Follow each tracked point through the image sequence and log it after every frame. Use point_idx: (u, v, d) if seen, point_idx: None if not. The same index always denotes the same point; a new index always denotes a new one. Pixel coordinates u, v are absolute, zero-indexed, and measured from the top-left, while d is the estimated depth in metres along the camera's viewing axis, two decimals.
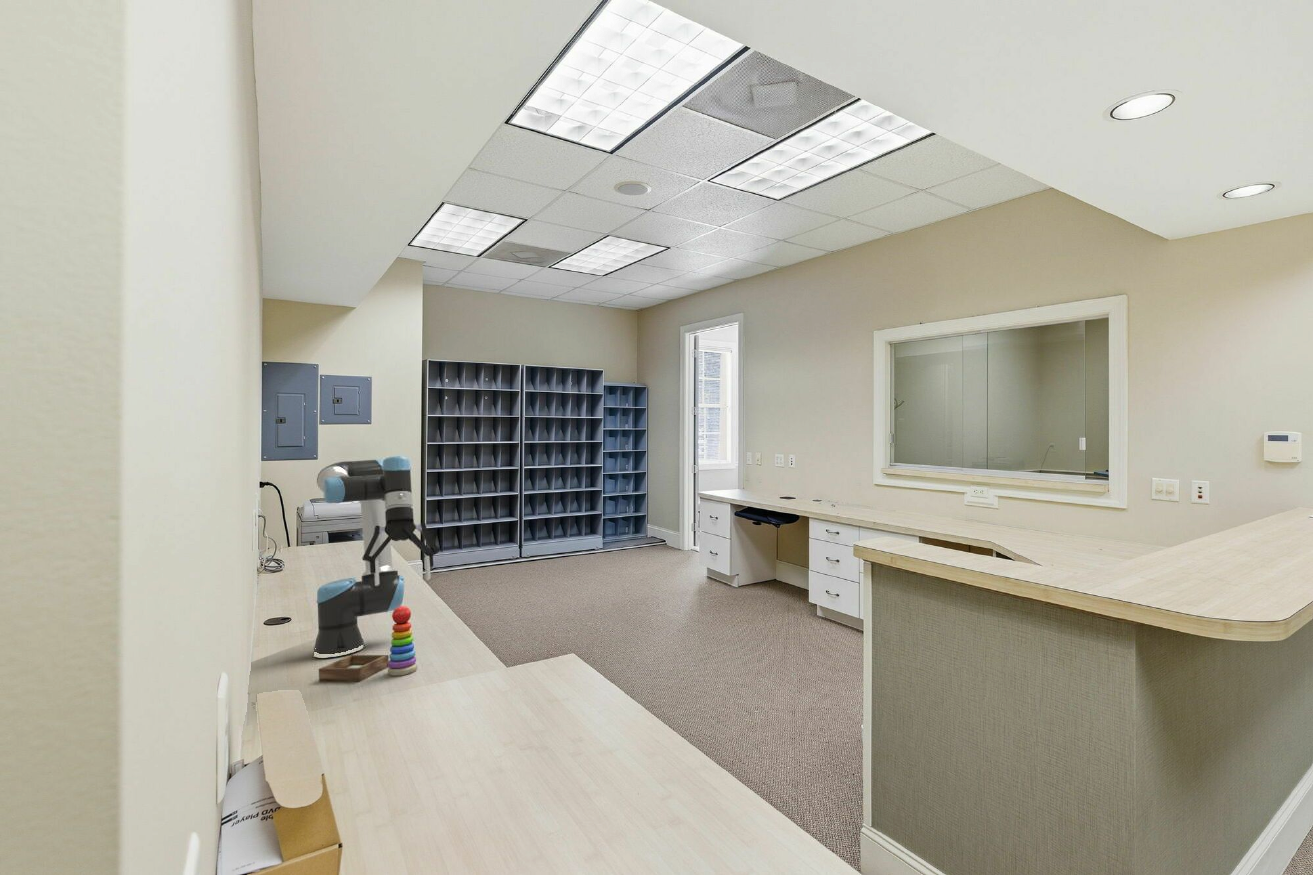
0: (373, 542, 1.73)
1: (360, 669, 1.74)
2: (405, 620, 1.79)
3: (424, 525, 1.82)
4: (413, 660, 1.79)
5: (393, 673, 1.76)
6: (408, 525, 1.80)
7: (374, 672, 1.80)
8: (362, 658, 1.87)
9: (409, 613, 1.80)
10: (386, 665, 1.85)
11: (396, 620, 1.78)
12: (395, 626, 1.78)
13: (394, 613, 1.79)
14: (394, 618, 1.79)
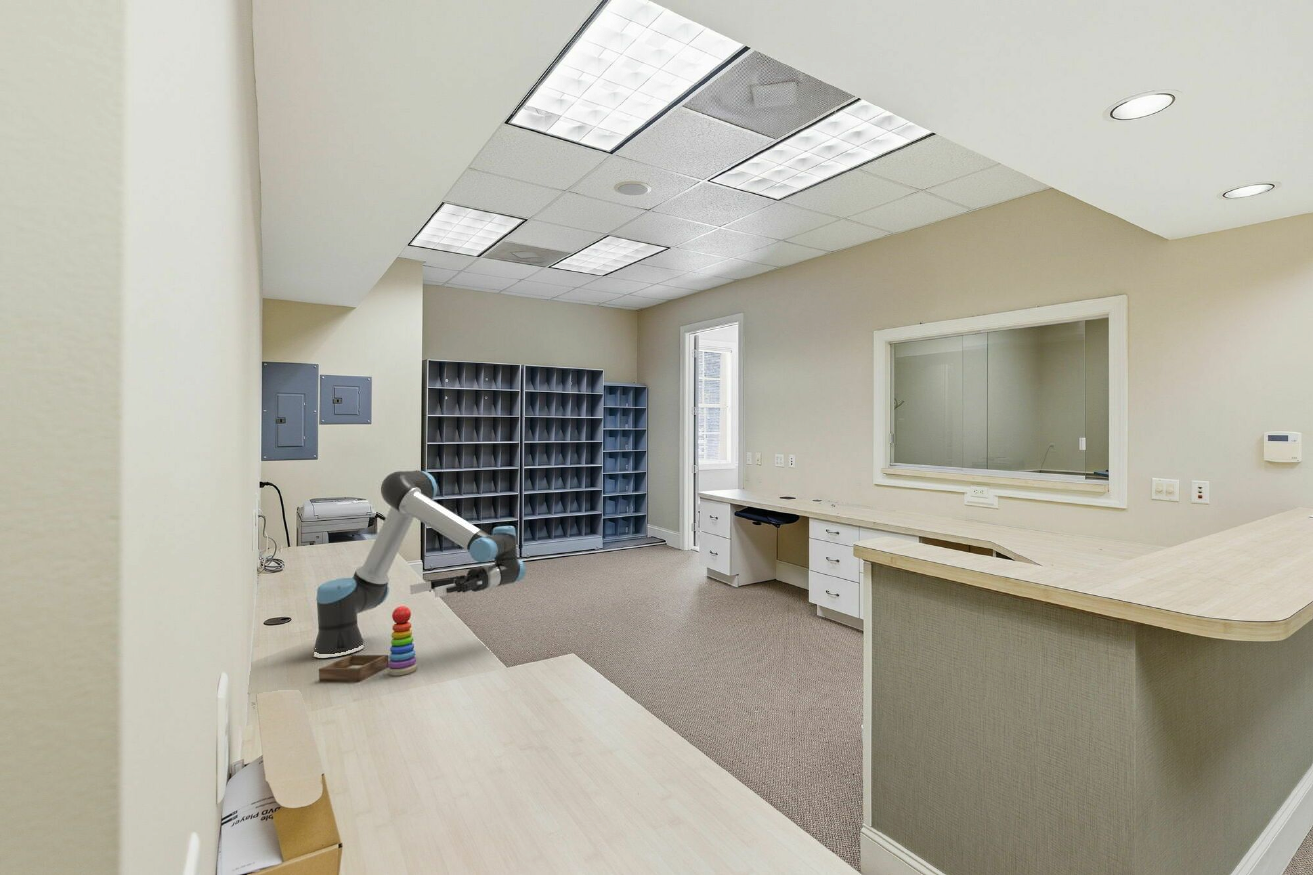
0: None
1: (360, 669, 1.74)
2: (405, 620, 1.79)
3: None
4: (413, 660, 1.79)
5: (393, 673, 1.76)
6: None
7: (374, 672, 1.80)
8: (362, 658, 1.87)
9: (409, 613, 1.80)
10: (386, 665, 1.85)
11: (396, 620, 1.78)
12: (395, 626, 1.78)
13: (394, 613, 1.79)
14: (394, 618, 1.79)
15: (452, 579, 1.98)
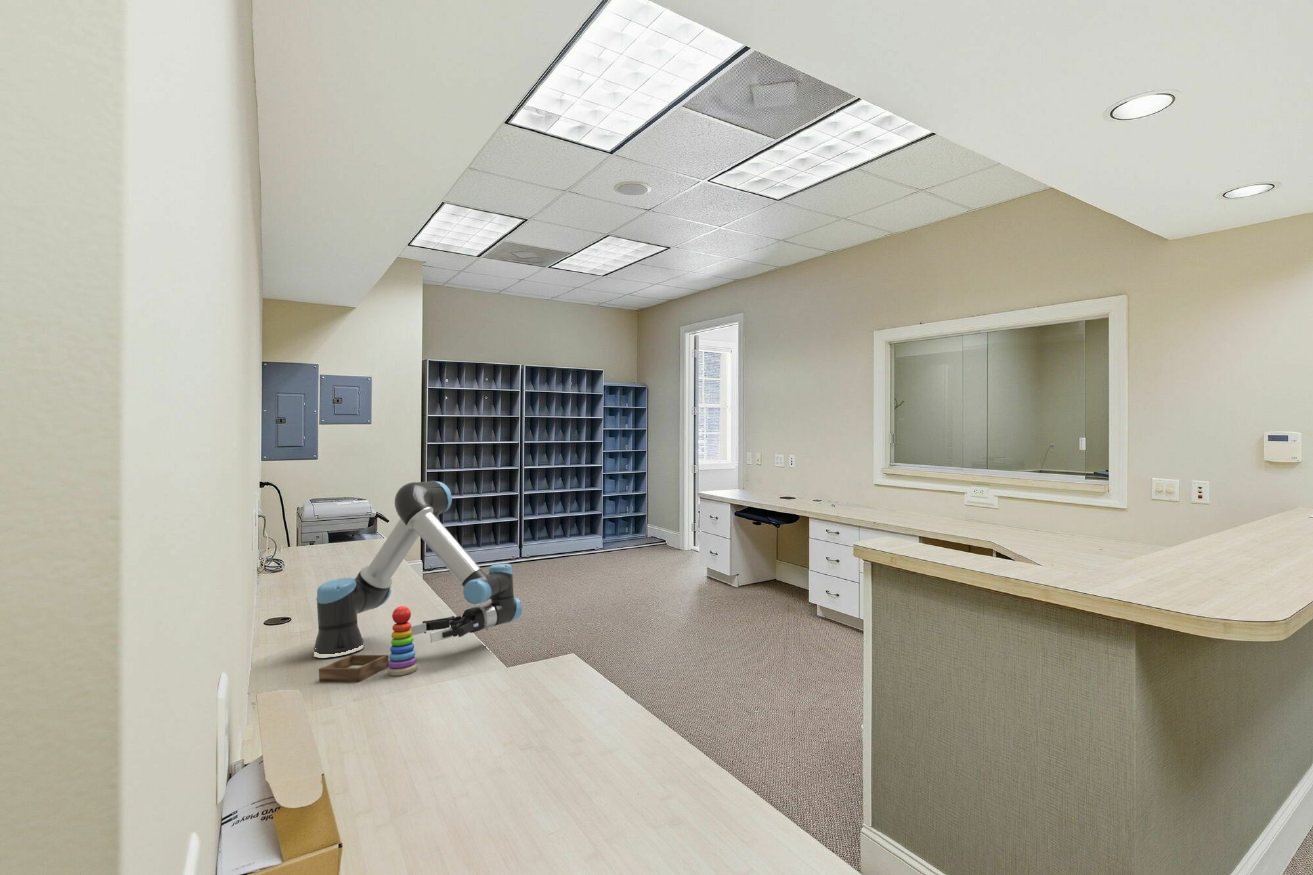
0: None
1: (360, 669, 1.74)
2: (405, 620, 1.79)
3: None
4: (413, 660, 1.79)
5: (393, 673, 1.76)
6: None
7: (374, 672, 1.80)
8: (362, 658, 1.87)
9: (409, 613, 1.80)
10: (386, 665, 1.85)
11: (396, 620, 1.78)
12: (395, 626, 1.78)
13: (394, 613, 1.79)
14: (394, 618, 1.79)
15: (448, 620, 1.95)
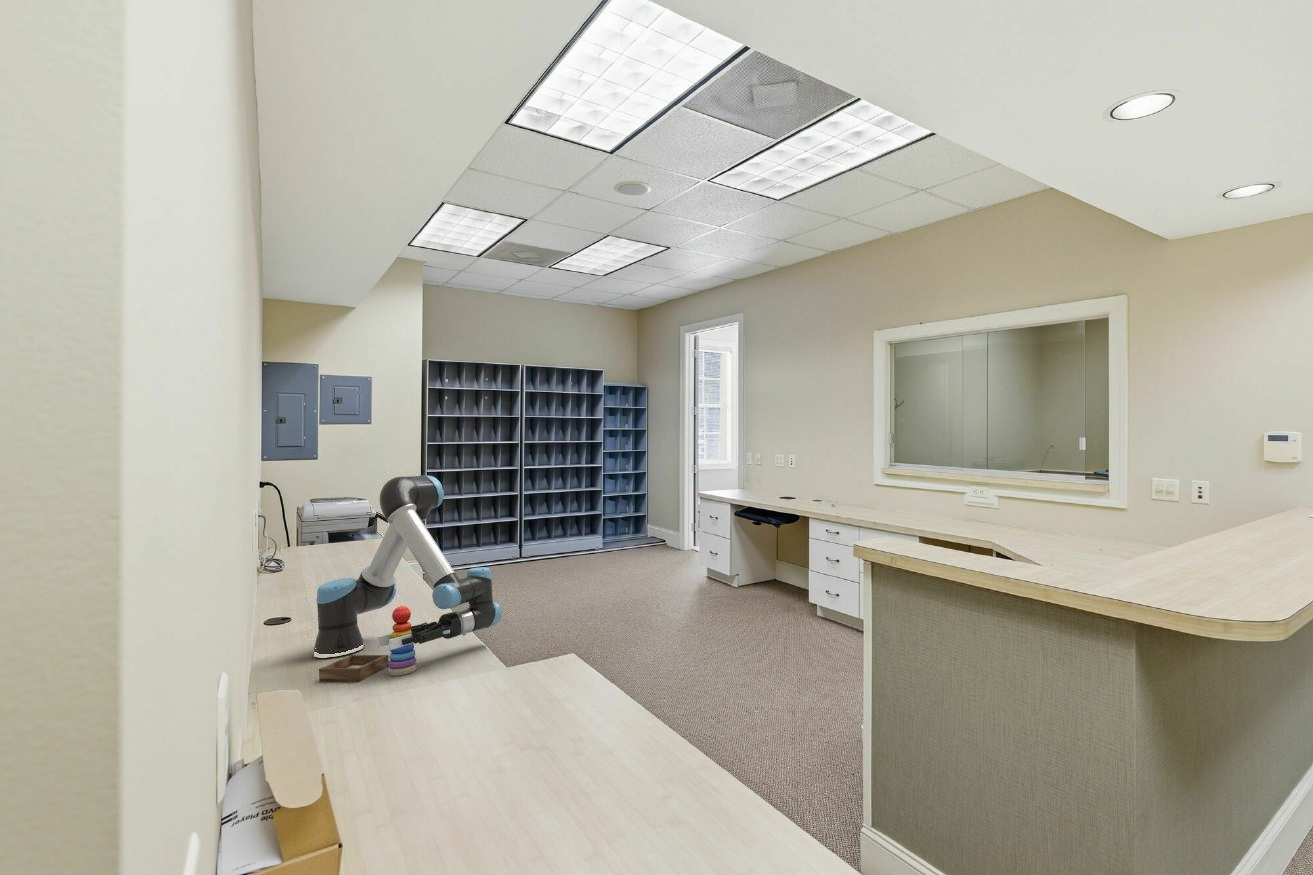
0: None
1: (360, 669, 1.74)
2: (405, 620, 1.79)
3: None
4: (413, 660, 1.79)
5: (393, 673, 1.76)
6: None
7: (374, 672, 1.80)
8: (362, 658, 1.87)
9: (409, 613, 1.80)
10: (386, 665, 1.85)
11: (396, 620, 1.78)
12: (395, 626, 1.78)
13: (394, 613, 1.79)
14: (394, 618, 1.79)
15: (424, 627, 1.88)
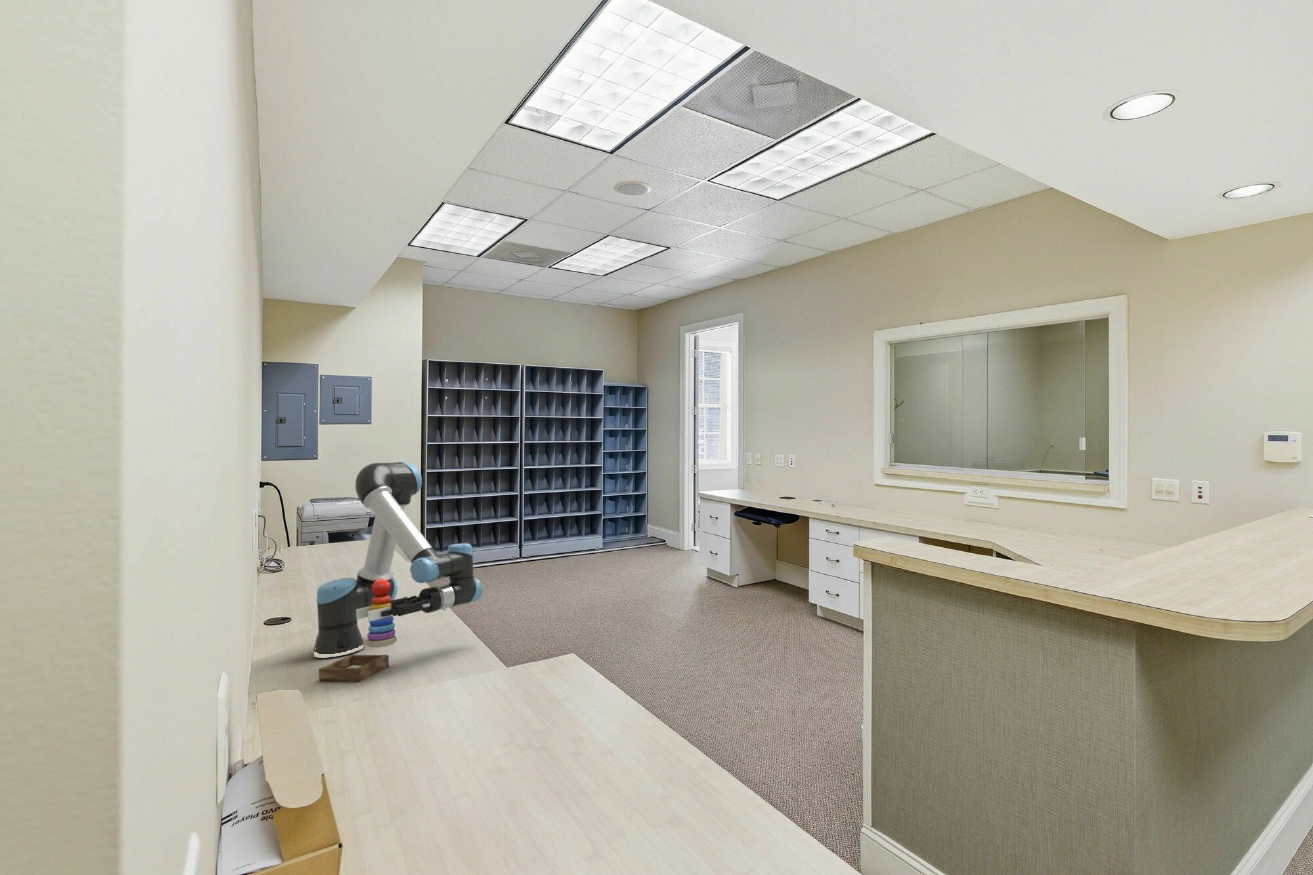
0: None
1: (360, 669, 1.74)
2: (384, 593, 1.80)
3: None
4: (392, 632, 1.80)
5: (372, 645, 1.76)
6: None
7: (374, 672, 1.80)
8: (362, 658, 1.87)
9: (388, 586, 1.81)
10: (386, 665, 1.85)
11: (375, 592, 1.79)
12: (374, 598, 1.79)
13: (373, 585, 1.79)
14: (373, 590, 1.79)
15: (403, 601, 1.88)
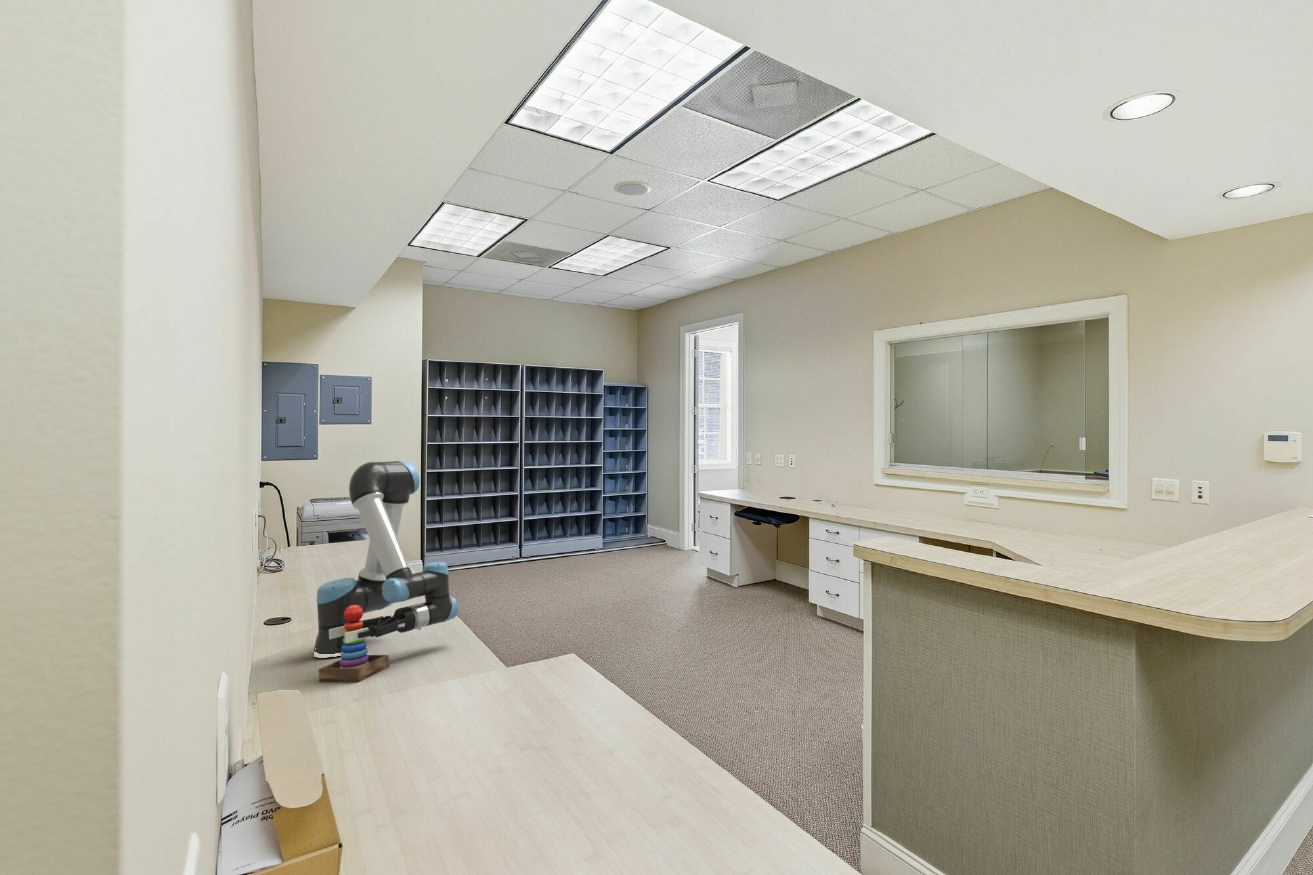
0: None
1: (360, 669, 1.74)
2: (357, 619, 1.81)
3: None
4: (365, 658, 1.81)
5: None
6: None
7: (374, 672, 1.80)
8: None
9: (361, 612, 1.82)
10: (386, 665, 1.85)
11: (347, 619, 1.80)
12: (346, 625, 1.80)
13: (345, 612, 1.80)
14: (345, 617, 1.80)
15: (377, 620, 1.90)
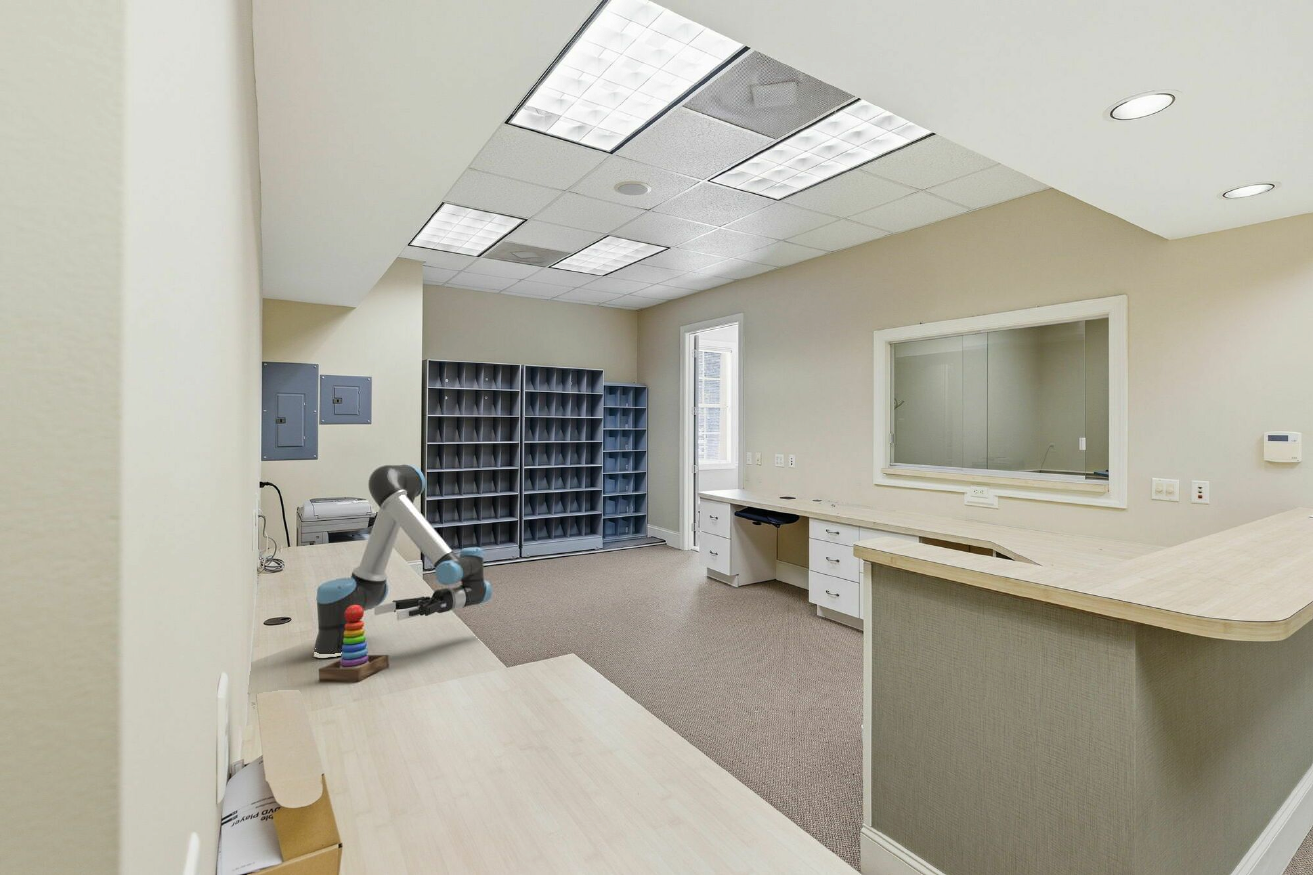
0: None
1: (360, 669, 1.74)
2: (357, 619, 1.81)
3: None
4: (365, 658, 1.81)
5: None
6: None
7: (374, 672, 1.80)
8: None
9: (362, 612, 1.82)
10: (386, 665, 1.85)
11: (348, 619, 1.80)
12: (347, 624, 1.80)
13: (346, 612, 1.80)
14: (346, 617, 1.80)
15: (417, 600, 2.01)
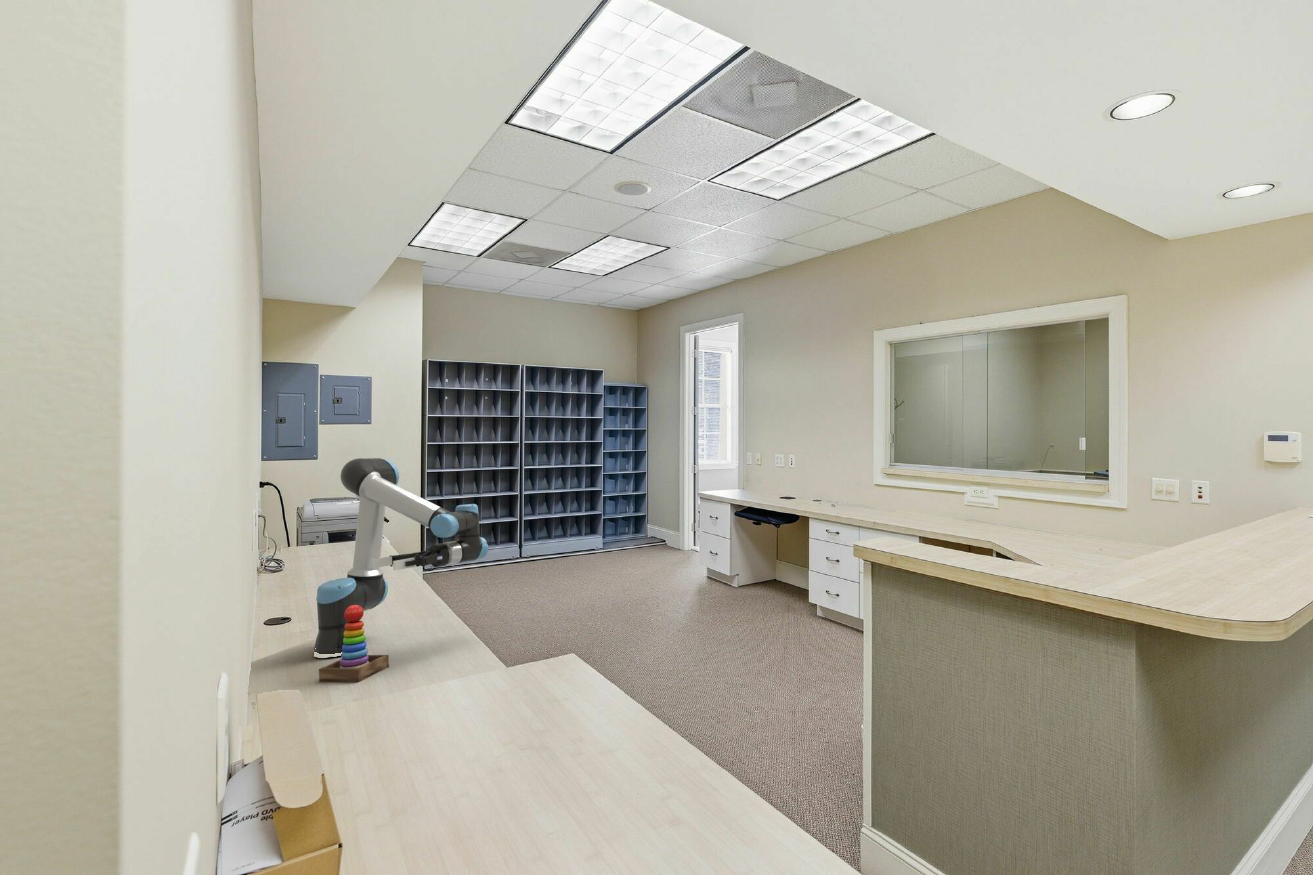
0: (430, 563, 1.95)
1: (360, 669, 1.74)
2: (357, 619, 1.81)
3: None
4: (365, 658, 1.81)
5: None
6: None
7: (374, 672, 1.80)
8: None
9: (361, 612, 1.82)
10: (386, 665, 1.85)
11: (348, 619, 1.80)
12: (347, 625, 1.80)
13: (346, 612, 1.80)
14: (346, 617, 1.80)
15: (413, 554, 2.01)
